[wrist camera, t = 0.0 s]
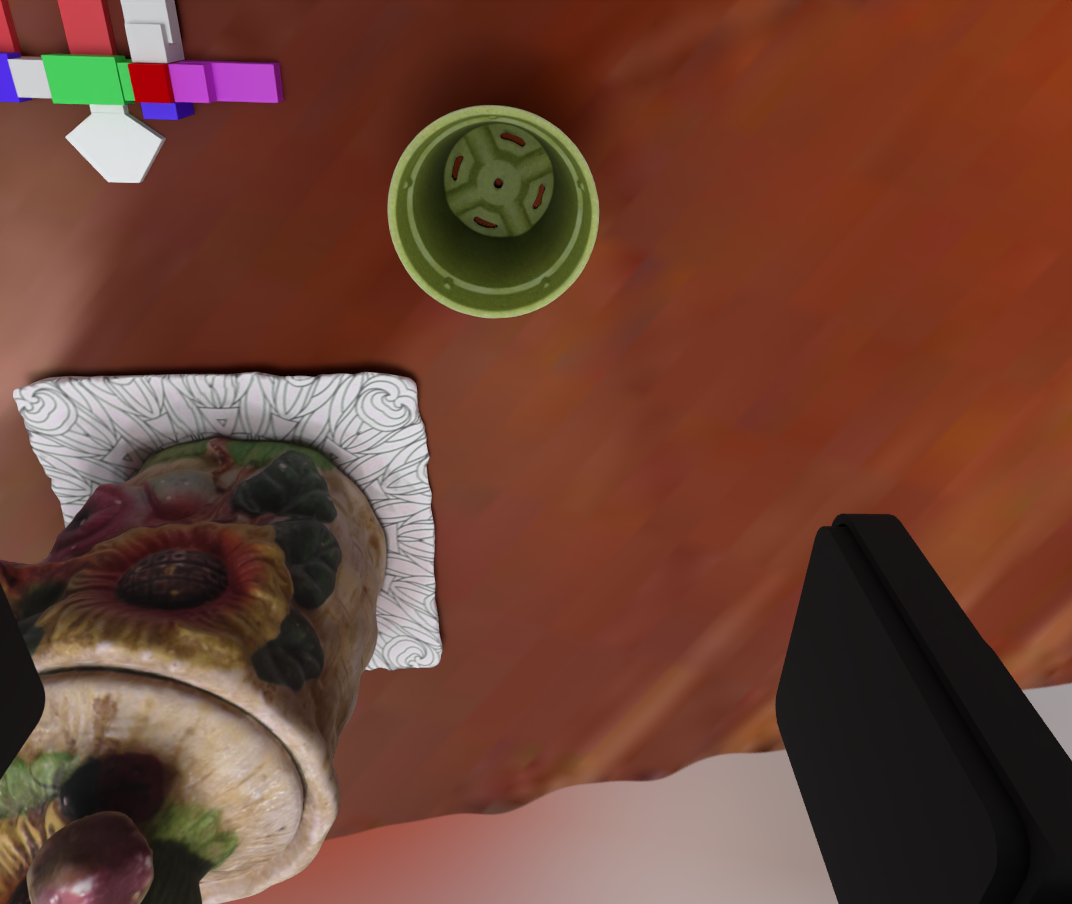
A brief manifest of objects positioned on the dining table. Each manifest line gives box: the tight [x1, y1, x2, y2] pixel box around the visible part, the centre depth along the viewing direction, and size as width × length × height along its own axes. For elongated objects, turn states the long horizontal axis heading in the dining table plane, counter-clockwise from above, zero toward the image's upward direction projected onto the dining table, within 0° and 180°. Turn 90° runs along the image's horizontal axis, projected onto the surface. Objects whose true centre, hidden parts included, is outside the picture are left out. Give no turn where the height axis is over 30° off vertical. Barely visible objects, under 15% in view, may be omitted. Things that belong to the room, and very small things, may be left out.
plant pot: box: [388, 105, 599, 318], centre depth 39 cm, size 9×9×9 cm
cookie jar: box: [0, 372, 443, 904], centre depth 40 cm, size 25×25×32 cm
